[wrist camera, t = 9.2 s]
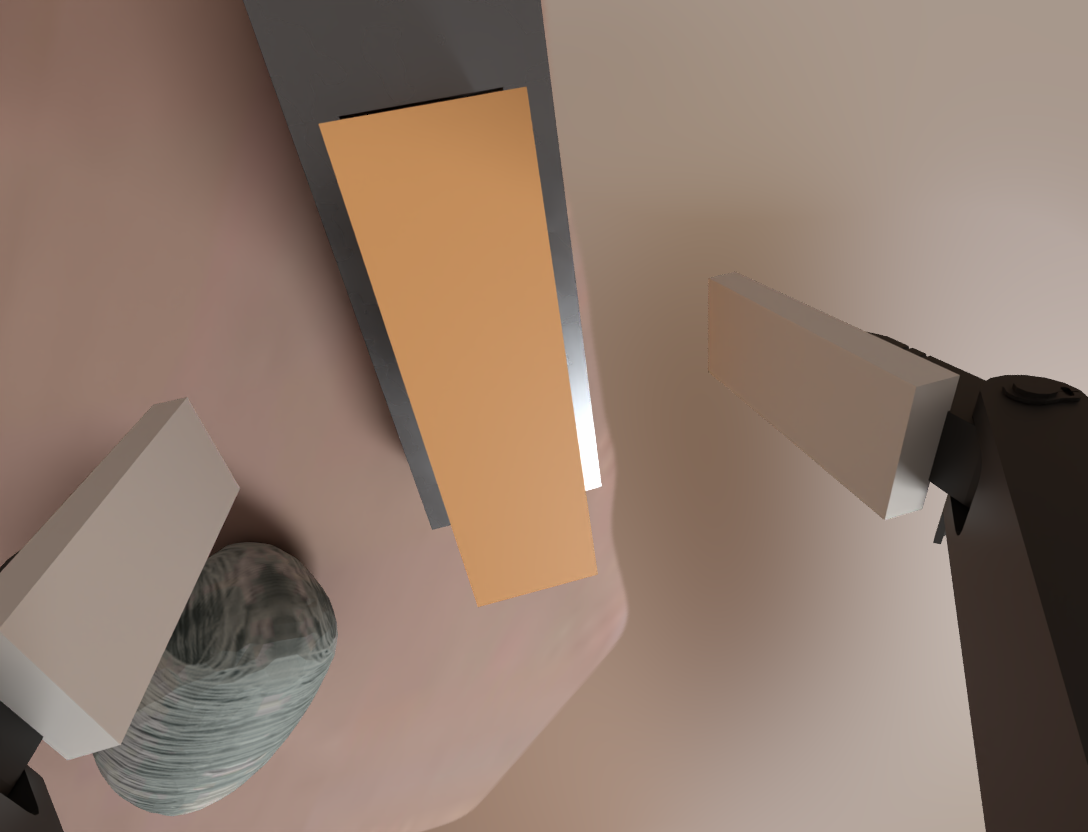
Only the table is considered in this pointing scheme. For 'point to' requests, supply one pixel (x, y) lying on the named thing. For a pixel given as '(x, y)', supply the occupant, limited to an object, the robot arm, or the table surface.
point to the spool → (226, 682)
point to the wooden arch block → (474, 326)
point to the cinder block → (401, 81)
